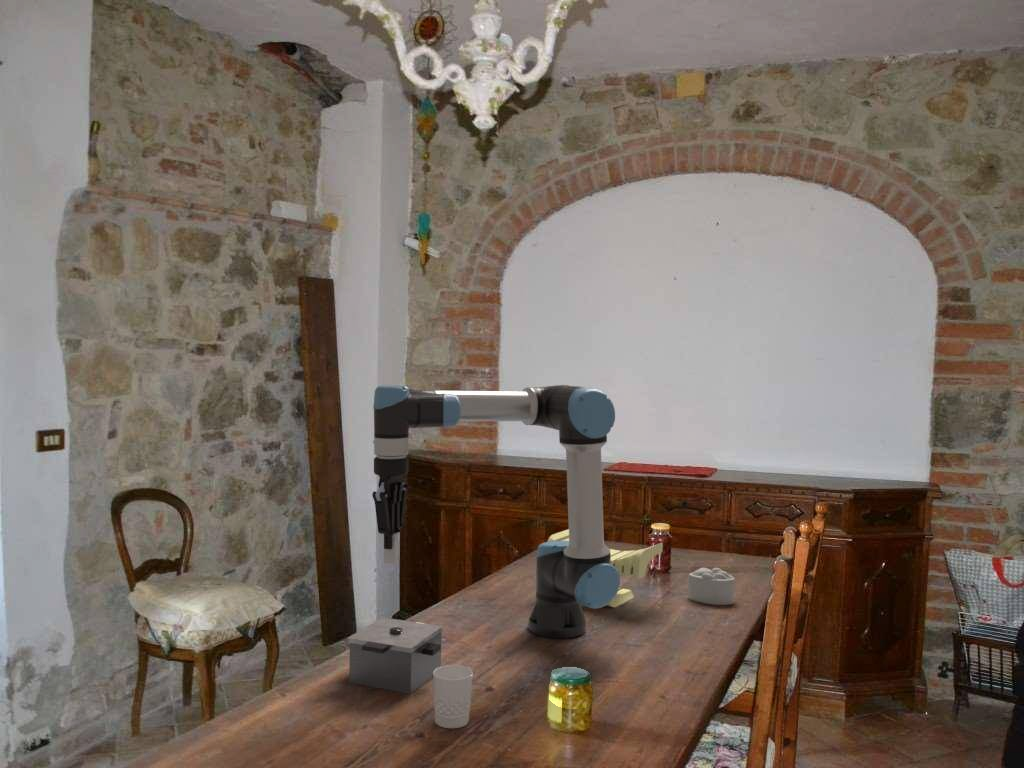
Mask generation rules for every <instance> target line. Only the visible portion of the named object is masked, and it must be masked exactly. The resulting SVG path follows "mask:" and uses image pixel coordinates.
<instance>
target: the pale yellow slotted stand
mask: <svg viewBox="0 0 1024 768" xmlns="http://www.w3.org/2000/svg"><path fill="white" fill-rule="evenodd" d="M552 541H569V528H568V529H565V530H562V531H559V532H555V533H553V534H551V535H550V536H549V537H548V538H547V541H546V542H552ZM663 544H664V542H663V541H662V542H660V543H658V544H655V545H652V546H649V547H646V548H641V549H638V550H634V549H633V550H623V551H622V550H617V549H612V548H609V549H610V556H611V565H613V566H614V567H615V568H616V569H617V571H618V572H619V575H624V576H629V577H630V576H632V578H635V579H636V580H641V579H643V578H644V577H646V572H647V569H648V566H649V563H650V562H651V561H652V559H653V558H655V557H656V556H658V554H660V553H662V552H663V548H664V547H663V546H664V545H663ZM634 598H635V596H634V594H633V591H632V589H627V588H621V587H619V590H618V592H617V594H616V596H615V597H613V599H612V601H611V602H610V603H609V604H607V605H606V606H605V607H611V608H617V607H619V606H621V605H622V604H624V603H626V602H628V601H630V600H631V599H634Z"/></svg>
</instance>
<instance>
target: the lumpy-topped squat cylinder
mask: <svg viewBox="0 0 1024 768" xmlns="http://www.w3.org/2000/svg"><path fill="white" fill-rule="evenodd" d="M735 580H736V579H735V577H734V576H733V575H731V574H729V573H728V572H727V571H725V570H722V569H721V568H719V567H713V568H712V569H710V568H707V567H699V568H698V569H695V570H694V571H693V572H690V573H688V589H687V590H688V593H687V594H688V595H687V598H688V599H689V600H691V601H694V602H700V603H702V604H703V603H704V604H707V605H717V606H718V605H719V606H720V605H721V606H722V605H723V606H726V605H733V604H734V603H735V586H736V585H735V583H736V581H735Z"/></svg>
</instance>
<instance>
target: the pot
mask: <svg viewBox="0 0 1024 768" xmlns="http://www.w3.org/2000/svg"><path fill="white" fill-rule="evenodd" d="M442 631H443V630H442ZM442 631H441V632H440V633H438V634H437V635H436V636H434V637H433V638H431V639H430V640H429V641H427V642H426V643H424V644H423V645H422V646H420V647H419V648H417V649H416V650H415V651H413V652H412V653H408V652H402V651H396V650H390V649H389V650H387V651H386V652H384V653H383V654H382V653H376V652H370V651H365V650H362V645H361V644H355V643H349V670H348V671H349V673H348V676H349V678H348V681H349V682H348V683H350V684H354V685H359V686H364V687H371V688H375V689H381V690H386V691H392V692H397V693H401V694H408V695H412V694H413V693H415V691H417V690H418V689H419V688H421V686H423V685H424V684H425V683H427V682H428V681H429V680H430V679H431V678H432V679H433V671H434V670H435V669H436V668H438V667H441V666H442V638H443V637H442V634H443V633H442Z"/></svg>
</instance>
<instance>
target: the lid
mask: <svg viewBox="0 0 1024 768" xmlns="http://www.w3.org/2000/svg"><path fill="white" fill-rule="evenodd" d="M441 631H443V626H441V625H440V626H439V625H434V624H429V623H425V622H416V621H412V620H405V619H400V618H399V619H396V618H388V617H381V618H378V619H377V620H375V621H374V622H372V623H370V624H369V625H367V626H364V628H362V629H361V630H358V631H357V632H355V633H354V634H351V635H350V636H348V637H347V643H349V644H350V643H355V644H361V645H362V650H365V651H370V652H376V653H382V654H383V653H384V652H386V651H387V650H389V649H390V650H396V651H402V652H408V653H412V652H413V651H415V650H416V649H417V648H419V647H420V646H422V645H423V644H424V643H426V642H427V641H429V640H430V639H431V638H433V637H434V636H436V635H437V634H438V633H440V632H441Z"/></svg>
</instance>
